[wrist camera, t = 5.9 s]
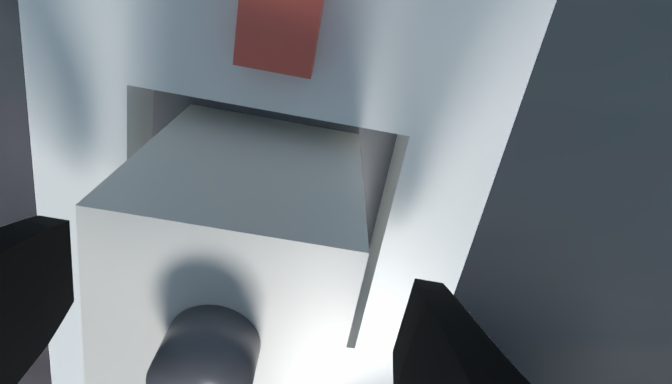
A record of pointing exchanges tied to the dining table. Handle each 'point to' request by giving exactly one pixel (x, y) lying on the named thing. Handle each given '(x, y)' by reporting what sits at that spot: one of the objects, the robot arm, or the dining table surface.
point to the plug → (224, 254)
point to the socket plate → (292, 117)
